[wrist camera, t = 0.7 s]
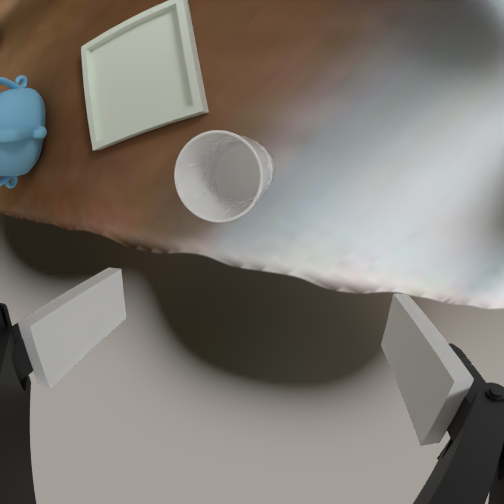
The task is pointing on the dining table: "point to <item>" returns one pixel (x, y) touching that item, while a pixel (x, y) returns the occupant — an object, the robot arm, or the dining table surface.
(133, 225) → the dining table surface
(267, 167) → the white cup
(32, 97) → the decorative pot
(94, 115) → the tray
